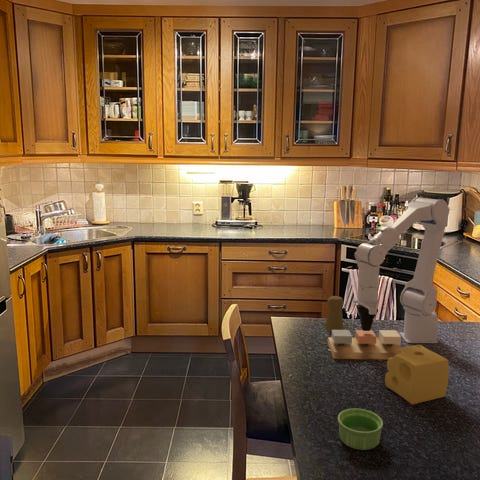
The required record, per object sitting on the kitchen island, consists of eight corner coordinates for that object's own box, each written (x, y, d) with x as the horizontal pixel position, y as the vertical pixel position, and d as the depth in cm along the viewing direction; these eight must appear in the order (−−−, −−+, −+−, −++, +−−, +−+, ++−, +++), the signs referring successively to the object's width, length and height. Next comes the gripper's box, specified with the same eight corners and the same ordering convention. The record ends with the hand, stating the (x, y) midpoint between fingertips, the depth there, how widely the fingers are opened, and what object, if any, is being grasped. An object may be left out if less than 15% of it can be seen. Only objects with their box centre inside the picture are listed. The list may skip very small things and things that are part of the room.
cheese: (384, 386, 121) (386, 348, 120) (418, 379, 125) (421, 342, 123) (412, 406, 112) (415, 366, 110) (448, 398, 116) (452, 359, 114)
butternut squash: (330, 324, 164) (331, 293, 162) (347, 328, 161) (348, 296, 158) (321, 329, 160) (322, 297, 158) (338, 333, 156) (339, 300, 154)
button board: (393, 344, 147) (394, 333, 147) (404, 359, 137) (405, 348, 136) (328, 343, 148) (328, 333, 147) (333, 358, 137) (334, 347, 137)
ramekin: (330, 442, 98) (330, 423, 97) (346, 422, 106) (347, 403, 105) (373, 458, 93) (374, 437, 92) (387, 435, 101) (388, 416, 100)
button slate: (348, 336, 144) (348, 329, 144) (351, 343, 139) (352, 336, 139) (331, 336, 144) (331, 329, 144) (334, 343, 139) (334, 336, 139)
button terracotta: (372, 337, 144) (372, 330, 144) (376, 343, 139) (376, 336, 139) (355, 336, 144) (355, 330, 144) (358, 343, 139) (359, 336, 139)
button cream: (395, 337, 144) (396, 330, 143) (400, 343, 139) (401, 336, 138) (378, 337, 144) (379, 330, 144) (383, 343, 139) (383, 336, 139)
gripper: (349, 278, 146) (347, 321, 148) (359, 292, 132) (357, 339, 134) (372, 278, 146) (370, 321, 148) (385, 292, 131) (382, 339, 134)
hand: (365, 330), depth 141 cm, fingers closed
